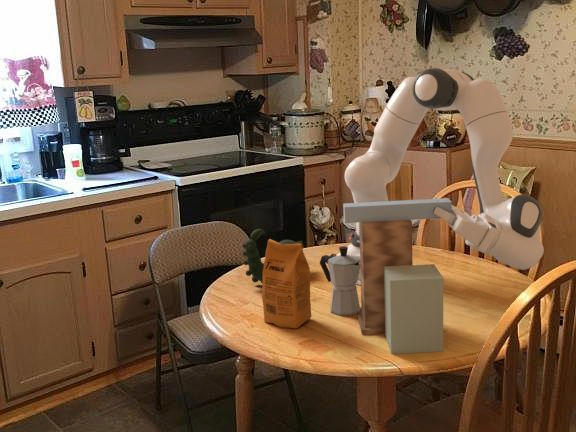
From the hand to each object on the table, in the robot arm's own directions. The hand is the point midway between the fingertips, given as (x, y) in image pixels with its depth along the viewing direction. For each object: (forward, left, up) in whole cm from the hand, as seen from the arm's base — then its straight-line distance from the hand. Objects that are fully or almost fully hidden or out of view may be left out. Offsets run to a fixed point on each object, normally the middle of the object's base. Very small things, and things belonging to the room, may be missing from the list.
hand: (432, 206), depth 161 cm
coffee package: (-35, -14, -31) cm, 49 cm away
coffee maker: (-25, -1, -31) cm, 40 cm away
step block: (0, -14, -30) cm, 33 cm away
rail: (-8, -4, -2) cm, 9 cm away
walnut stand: (-10, -6, -30) cm, 33 cm away
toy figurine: (-55, +14, -31) cm, 64 cm away
